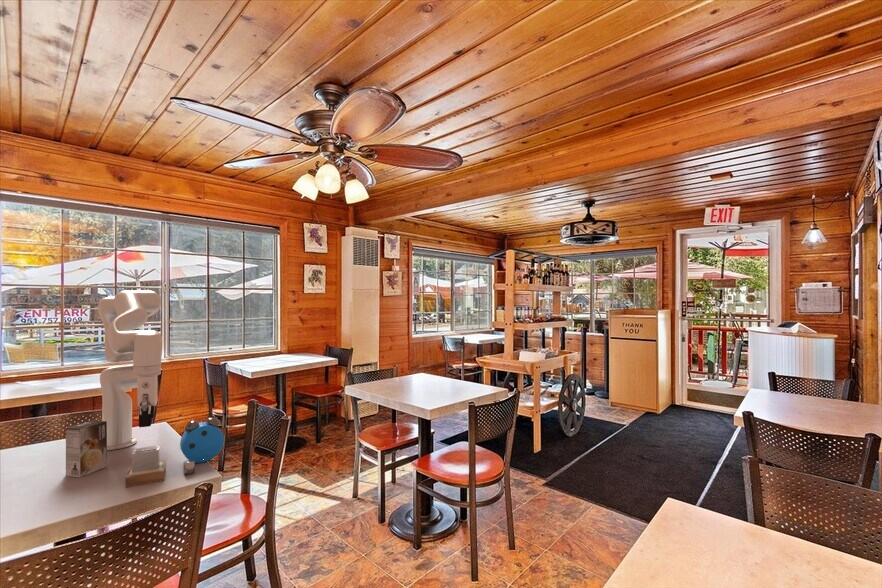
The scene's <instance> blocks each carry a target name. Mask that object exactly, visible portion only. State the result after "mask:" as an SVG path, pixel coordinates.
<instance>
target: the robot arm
mask: <svg viewBox="0 0 882 588" xmlns="http://www.w3.org/2000/svg"><path fill="white" fill-rule="evenodd" d="M161 304H162V301H161V296H160V295H159V294H158V292H156V291H153V290H136V289H135V290H129V289H128V290H122V291H118V293H116V294H115V295H114V296H107V297H103V298H101V299H100V300H99V301H98V304H97V312H98V315H99V318H100V320H101V322H102V325H103V328H104V357H105V360H106V362H108V363H112V364H119V363H130V362H132V364H127V365H125V364H123V365H114V366H111V367H106V368H105V369H103V370H102V371H101V372H100V374H99V383H100V384H99V385H100V388H101V389H100V390H101V398H102V405H101V406H102V408H101V409H102V415H101V416H102V417H101V418H102V420H101V421H107V451H114V450H119V449H125V448H127V447H130V446H133V445H135V444H136V443H137V438H135V437H133V399H132V397H131V396H130V394H128V393H127V392H126V391H125V390H130V389H136V388H137V389H136V392H137V398H136V399H137V407H138V408H139V414H138V428H146V427H151V426H152V419H153V418H154V415H155V410H154V409H155V408H154V407H155V406H157V403H158V399H159V397H158V394H159V393H158V391H159V389H158V387H159V386H158V384H159V383H158V382H159V381H158V376H160V375H161V374H162V344H163V343H162V342H163V340H162V339H163V338H162V335H161V334H160V333H159V331H158V330H156V329H155V330H154V329H145V330H144V329H143V330H141V329H139V330H136V329H138V328H141V327H142V326H144V325H145V324H146V323H147V321H148V318H149V317H152V316H153V315H155V314H156V313H158V312H159V311H160V309H161V306H162V305H161Z"/></svg>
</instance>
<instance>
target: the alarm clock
mask: <svg viewBox="0 0 882 588" xmlns="http://www.w3.org/2000/svg"><path fill="white" fill-rule="evenodd" d="M220 425H221V422H220V420H219V419H218V418H217V417H216V416H215V417H208V418H207V419H206V420H204V419H203V420H200V422H199V420H194V419H193V420H189V421H188V422H187V423H186V424H185V425H184V428H183V430H184V432H183V434H182V436H181V438H180V442H179V447H180V450H181V452H182V454H183V456H184V458H186V459H187V461H188V460H195V464H196V463H197V464H198V463H200V464H201V463H206V462H208V461H210V460H212V459H214V458H215V457H216V456H217V455H218V454H220V452H221V451H222V449H223V446H224V442H225V440H224V439H225V438H224V434H223V432H222V430H221V429H220V428H219V426H220ZM203 459H204V460H203ZM205 461H206V462H205Z"/></svg>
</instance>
